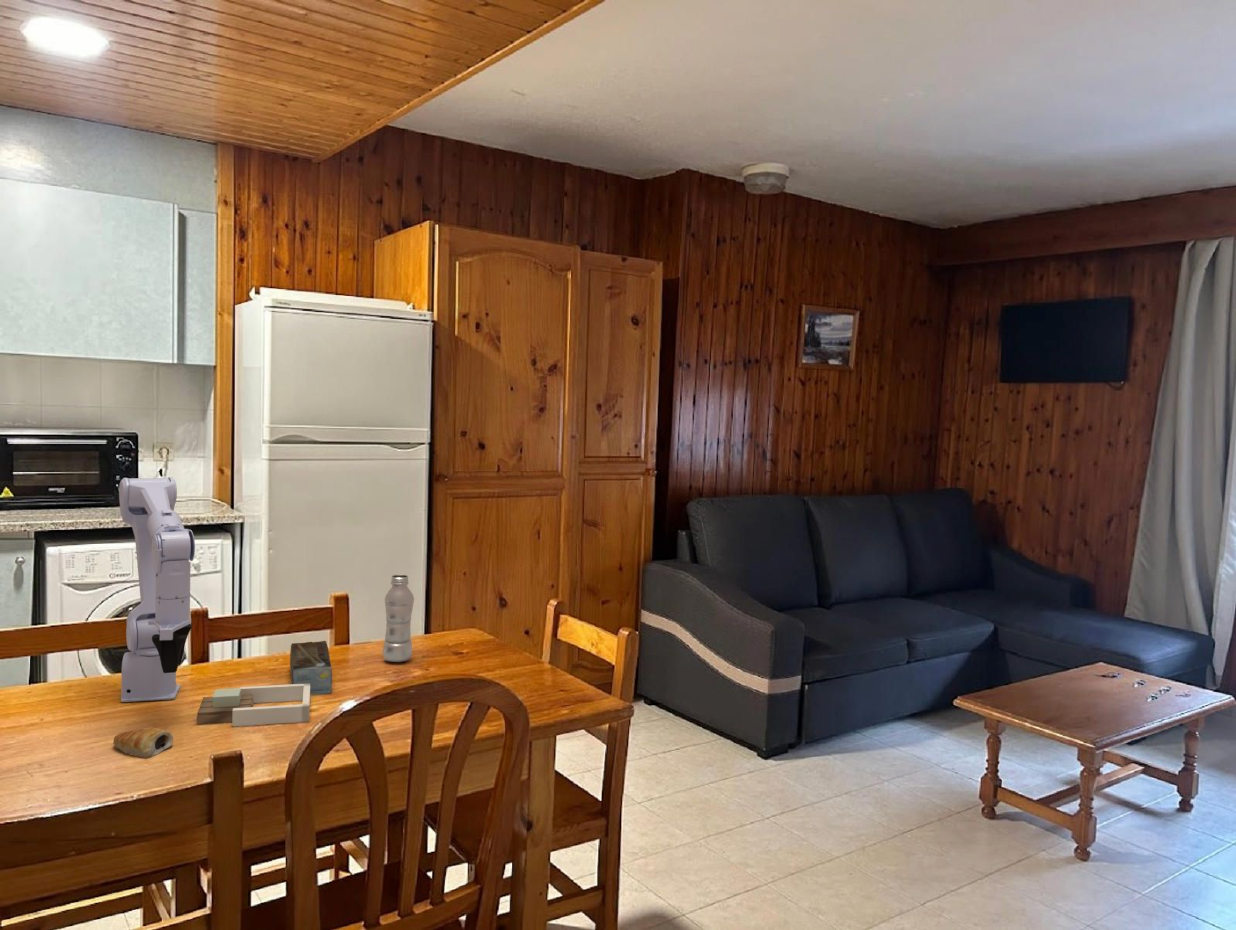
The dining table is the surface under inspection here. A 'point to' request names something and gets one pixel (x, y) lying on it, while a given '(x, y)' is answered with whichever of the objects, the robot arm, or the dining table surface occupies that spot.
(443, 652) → the dining table surface
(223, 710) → the pallet
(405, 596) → the plastic bottle
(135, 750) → the pastry
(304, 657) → the beverage carton
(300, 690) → the dock
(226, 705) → the pale green block
